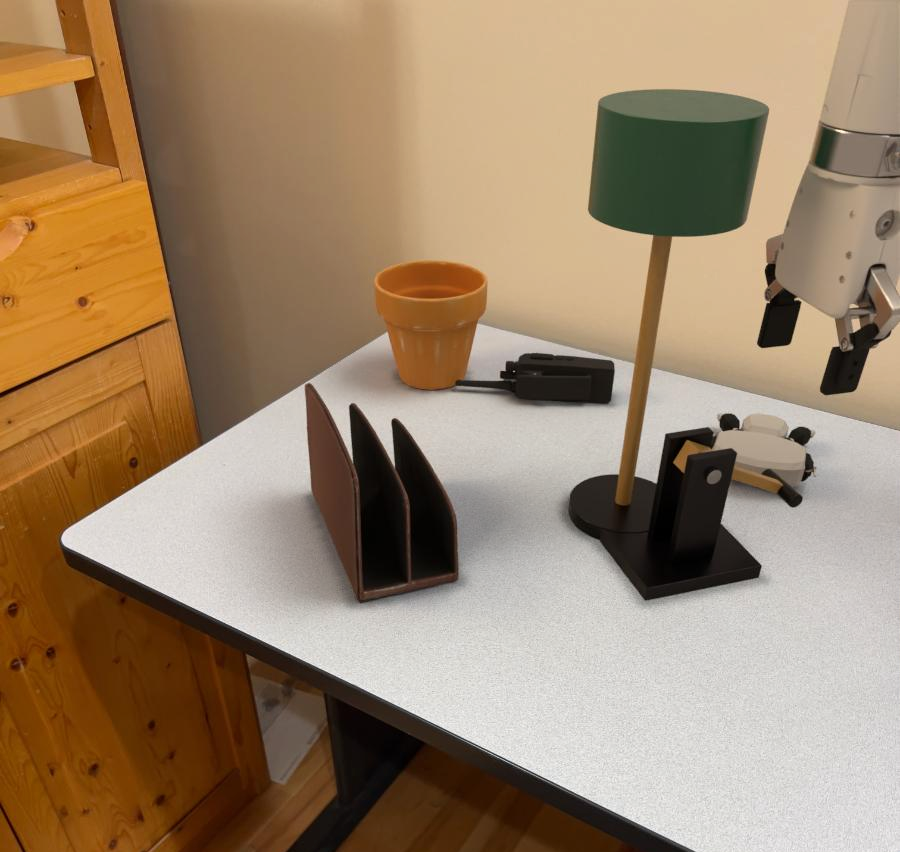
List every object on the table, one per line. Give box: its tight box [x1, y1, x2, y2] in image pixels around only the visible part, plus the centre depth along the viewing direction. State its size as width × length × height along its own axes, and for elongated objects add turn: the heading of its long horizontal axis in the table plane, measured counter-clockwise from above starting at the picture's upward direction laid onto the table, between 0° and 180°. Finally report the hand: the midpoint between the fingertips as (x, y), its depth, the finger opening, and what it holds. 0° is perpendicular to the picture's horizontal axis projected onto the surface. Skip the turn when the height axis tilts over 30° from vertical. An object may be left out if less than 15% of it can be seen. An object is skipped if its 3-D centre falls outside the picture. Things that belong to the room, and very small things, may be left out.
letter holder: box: [304, 382, 460, 604], centre depth 85 cm, size 10×20×14 cm, turn 19°
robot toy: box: [710, 412, 818, 488], centre depth 99 cm, size 12×4×15 cm
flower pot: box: [373, 259, 488, 391], centre depth 114 cm, size 14×14×13 cm
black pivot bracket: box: [599, 426, 763, 602], centre depth 82 cm, size 12×10×13 cm
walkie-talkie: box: [455, 352, 616, 403], centre depth 112 cm, size 6×6×20 cm
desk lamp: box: [567, 88, 770, 541], centre depth 80 cm, size 13×13×38 cm
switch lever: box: [673, 440, 804, 509], centre depth 82 cm, size 13×5×2 cm, turn 108°
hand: (803, 367), depth 77 cm, fingers open, 9 cm apart
